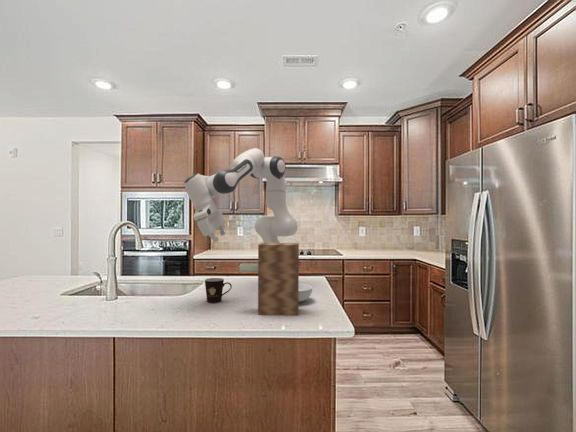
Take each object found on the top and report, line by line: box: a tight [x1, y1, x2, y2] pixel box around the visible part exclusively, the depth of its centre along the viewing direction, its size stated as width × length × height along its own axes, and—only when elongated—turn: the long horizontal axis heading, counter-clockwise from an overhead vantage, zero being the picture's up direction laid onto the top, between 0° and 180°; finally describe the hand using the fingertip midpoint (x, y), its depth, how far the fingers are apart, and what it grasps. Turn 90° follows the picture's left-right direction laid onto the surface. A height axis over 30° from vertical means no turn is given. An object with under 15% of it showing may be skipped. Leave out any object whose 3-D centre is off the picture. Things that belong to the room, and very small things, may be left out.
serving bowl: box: [298, 282, 313, 303], centre depth 165 cm, size 21×21×7 cm
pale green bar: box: [239, 263, 258, 273], centre depth 146 cm, size 22×4×3 cm, turn 88°
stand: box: [257, 242, 300, 316], centre depth 146 cm, size 16×10×28 cm, turn 87°
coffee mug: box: [204, 277, 233, 304], centre depth 162 cm, size 12×9×10 cm
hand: (220, 238), depth 158 cm, fingers open, 8 cm apart
